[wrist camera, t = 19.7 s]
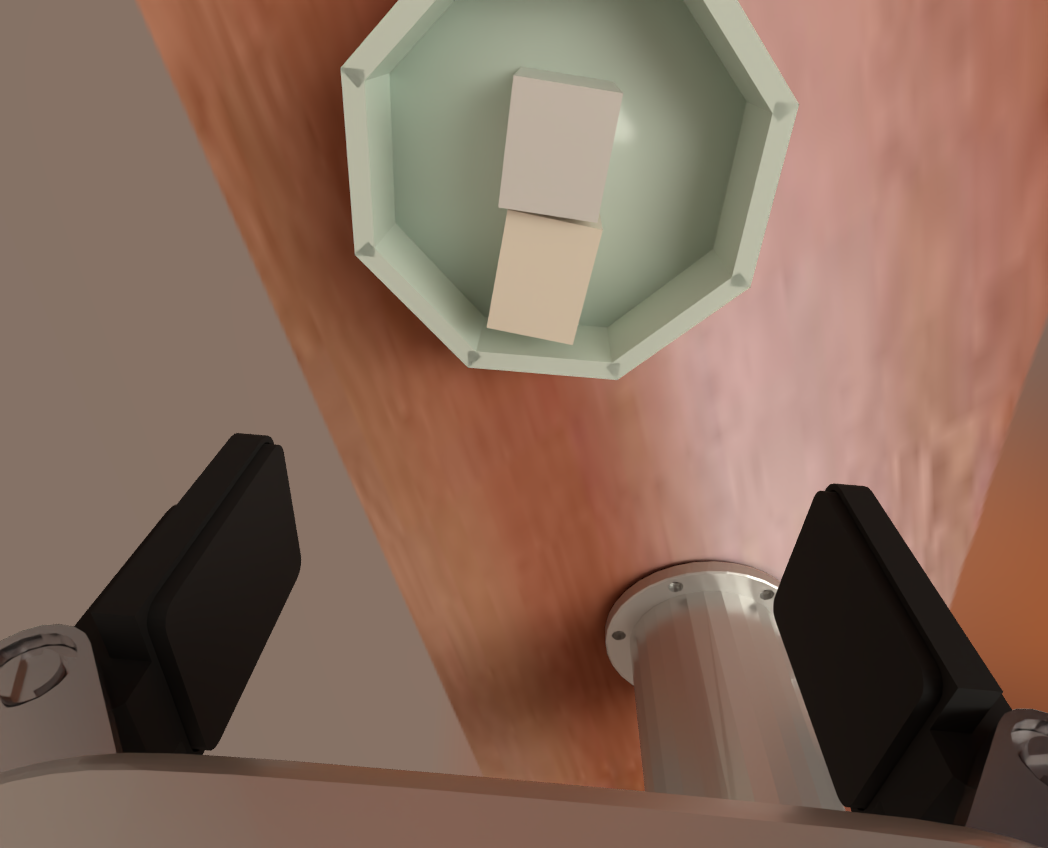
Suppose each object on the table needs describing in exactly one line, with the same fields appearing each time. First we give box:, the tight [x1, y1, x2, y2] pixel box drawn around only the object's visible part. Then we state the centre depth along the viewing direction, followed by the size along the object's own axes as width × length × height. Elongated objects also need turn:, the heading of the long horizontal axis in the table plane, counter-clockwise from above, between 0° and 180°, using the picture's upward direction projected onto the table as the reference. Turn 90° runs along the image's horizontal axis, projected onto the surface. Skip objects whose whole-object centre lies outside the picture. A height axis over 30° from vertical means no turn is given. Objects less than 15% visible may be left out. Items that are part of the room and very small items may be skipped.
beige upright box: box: [487, 209, 603, 345], centre depth 27 cm, size 4×4×5 cm
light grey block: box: [498, 67, 623, 223], centre depth 24 cm, size 4×4×5 cm
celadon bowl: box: [340, 0, 799, 380], centre depth 25 cm, size 16×16×4 cm
